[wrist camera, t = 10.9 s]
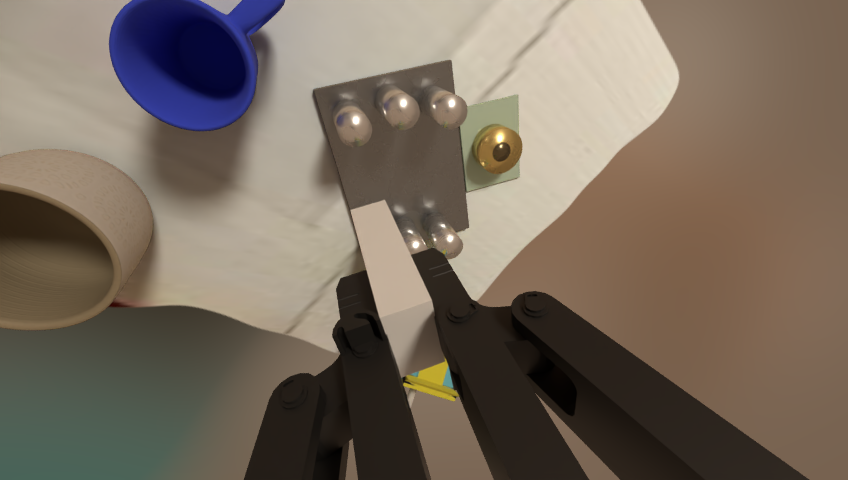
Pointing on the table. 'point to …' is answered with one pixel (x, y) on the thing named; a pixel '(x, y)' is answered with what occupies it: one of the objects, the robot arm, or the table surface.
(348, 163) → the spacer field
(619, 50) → the table surface
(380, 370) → the robot arm
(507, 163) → the gold round knob
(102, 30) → the table surface
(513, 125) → the mat
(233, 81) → the mug
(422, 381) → the carton
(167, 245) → the table surface
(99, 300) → the planter
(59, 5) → the table surface
